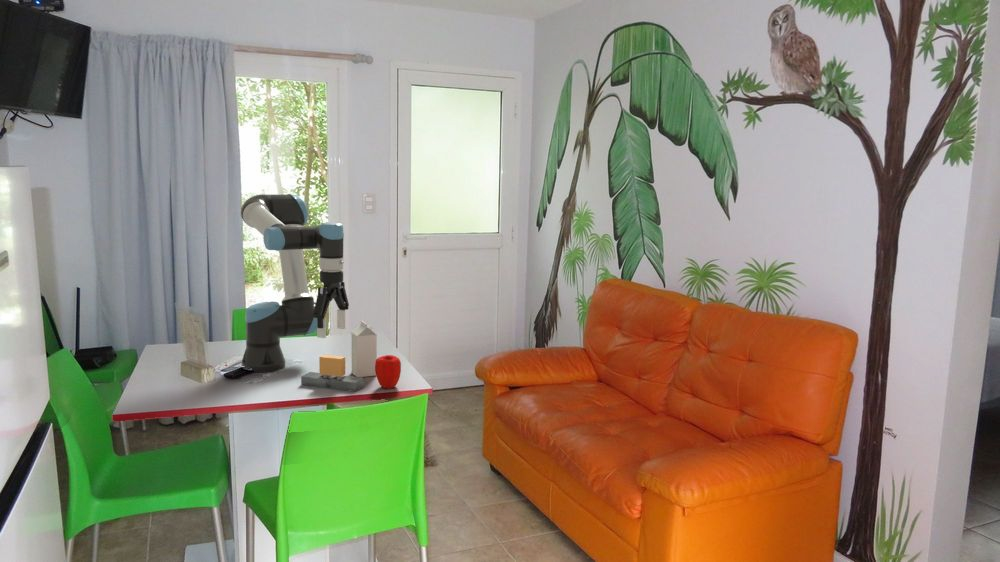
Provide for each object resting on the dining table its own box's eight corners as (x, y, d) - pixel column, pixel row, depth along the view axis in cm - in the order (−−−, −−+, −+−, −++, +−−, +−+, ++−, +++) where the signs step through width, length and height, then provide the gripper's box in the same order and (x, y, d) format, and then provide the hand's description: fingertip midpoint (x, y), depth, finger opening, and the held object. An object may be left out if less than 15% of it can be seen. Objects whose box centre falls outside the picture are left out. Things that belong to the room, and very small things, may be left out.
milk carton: (357, 378, 249) (357, 325, 247) (351, 372, 256) (351, 321, 253) (376, 375, 253) (376, 323, 250) (370, 370, 259) (370, 319, 256)
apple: (377, 382, 245) (377, 352, 243) (402, 383, 244) (403, 353, 243) (372, 390, 236) (372, 358, 234) (398, 391, 236) (398, 359, 234)
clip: (319, 385, 239) (319, 356, 238) (324, 383, 242) (323, 354, 241) (341, 388, 237) (341, 359, 236) (345, 385, 240) (345, 356, 239)
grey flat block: (301, 385, 239) (301, 376, 239) (310, 380, 245) (310, 371, 245) (355, 391, 235) (355, 382, 234) (363, 386, 240) (363, 377, 240)
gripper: (323, 276, 221) (323, 342, 225) (358, 266, 245) (358, 326, 248) (301, 274, 223) (302, 340, 226) (339, 264, 247) (339, 324, 250)
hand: (331, 333), depth 237 cm, fingers open, 13 cm apart
